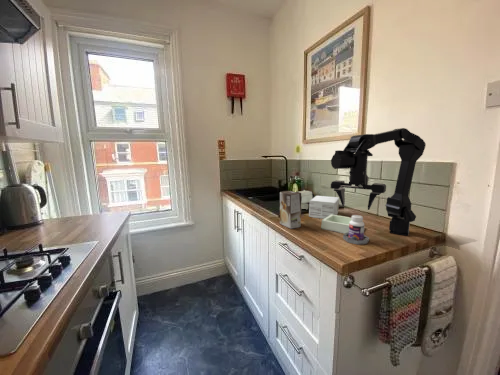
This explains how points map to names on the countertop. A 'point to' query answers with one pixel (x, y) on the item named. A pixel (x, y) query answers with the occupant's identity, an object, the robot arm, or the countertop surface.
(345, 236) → the collar
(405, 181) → the robot arm
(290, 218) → the coffee box
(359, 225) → the pill bottle
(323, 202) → the supplement box
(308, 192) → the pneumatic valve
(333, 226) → the bin
